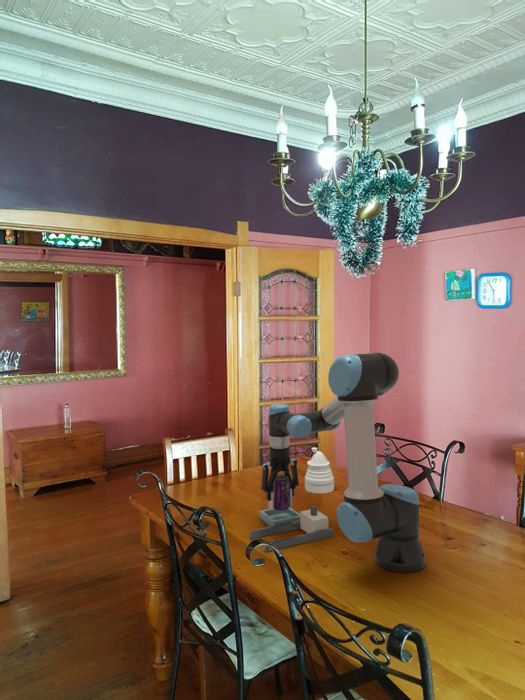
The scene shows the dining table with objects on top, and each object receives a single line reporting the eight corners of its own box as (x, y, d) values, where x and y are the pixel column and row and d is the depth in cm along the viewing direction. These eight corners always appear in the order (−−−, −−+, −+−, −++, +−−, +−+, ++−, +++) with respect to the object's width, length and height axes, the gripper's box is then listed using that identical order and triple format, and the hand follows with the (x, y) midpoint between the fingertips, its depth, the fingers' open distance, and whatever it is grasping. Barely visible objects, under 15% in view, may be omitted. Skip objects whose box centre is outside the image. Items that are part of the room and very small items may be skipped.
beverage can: (288, 512, 187) (287, 480, 186) (269, 511, 188) (268, 479, 187) (291, 505, 194) (290, 474, 193) (272, 504, 195) (272, 473, 194)
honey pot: (301, 491, 224) (300, 451, 223) (309, 482, 236) (309, 444, 234) (329, 494, 219) (329, 453, 218) (337, 485, 231) (336, 446, 230)
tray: (303, 523, 188) (302, 516, 188) (273, 530, 183) (273, 522, 183) (287, 513, 199) (287, 505, 199) (259, 518, 194) (259, 511, 194)
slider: (328, 534, 178) (328, 509, 177) (313, 537, 175) (313, 512, 175) (314, 524, 186) (314, 500, 186) (300, 527, 184) (299, 503, 183)
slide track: (333, 536, 177) (333, 529, 177) (265, 552, 166) (265, 544, 166) (314, 523, 188) (314, 517, 188) (250, 537, 177) (250, 530, 177)
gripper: (298, 440, 197) (299, 499, 198) (250, 447, 188) (252, 508, 190) (308, 445, 190) (308, 505, 192) (259, 452, 182) (260, 515, 183)
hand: (280, 506), depth 191 cm, fingers closed on beverage can, 7 cm apart
